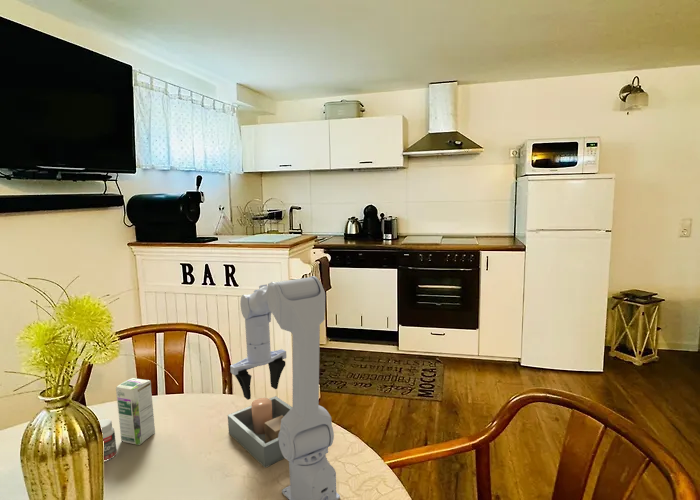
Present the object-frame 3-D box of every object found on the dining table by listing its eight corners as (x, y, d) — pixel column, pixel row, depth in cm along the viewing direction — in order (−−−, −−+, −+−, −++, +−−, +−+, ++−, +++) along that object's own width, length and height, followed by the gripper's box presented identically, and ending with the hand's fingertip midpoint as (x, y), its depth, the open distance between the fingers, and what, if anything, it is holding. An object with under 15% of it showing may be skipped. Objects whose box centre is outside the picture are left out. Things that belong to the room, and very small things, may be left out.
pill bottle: (106, 464, 97) (102, 430, 96) (88, 461, 98) (84, 428, 97) (121, 451, 102) (117, 418, 100) (104, 449, 102) (100, 417, 101)
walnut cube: (294, 442, 103) (293, 423, 102) (276, 451, 99) (275, 431, 99) (283, 433, 106) (282, 415, 106) (265, 441, 103) (264, 422, 102)
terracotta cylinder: (276, 428, 108) (275, 403, 107) (259, 436, 105) (257, 410, 104) (266, 420, 112) (265, 396, 111) (249, 428, 109) (247, 402, 108)
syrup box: (120, 442, 105) (113, 387, 103) (138, 429, 111) (132, 376, 108) (139, 445, 103) (133, 389, 101) (156, 432, 109) (151, 378, 107)
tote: (315, 442, 104) (315, 423, 103) (264, 467, 95) (263, 447, 94) (276, 413, 117) (275, 396, 116) (228, 433, 108) (227, 414, 107)
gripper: (275, 329, 113) (277, 378, 115) (223, 344, 103) (226, 396, 105) (290, 336, 107) (292, 387, 110) (236, 352, 98) (240, 407, 100)
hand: (261, 392), depth 107 cm, fingers open, 7 cm apart
